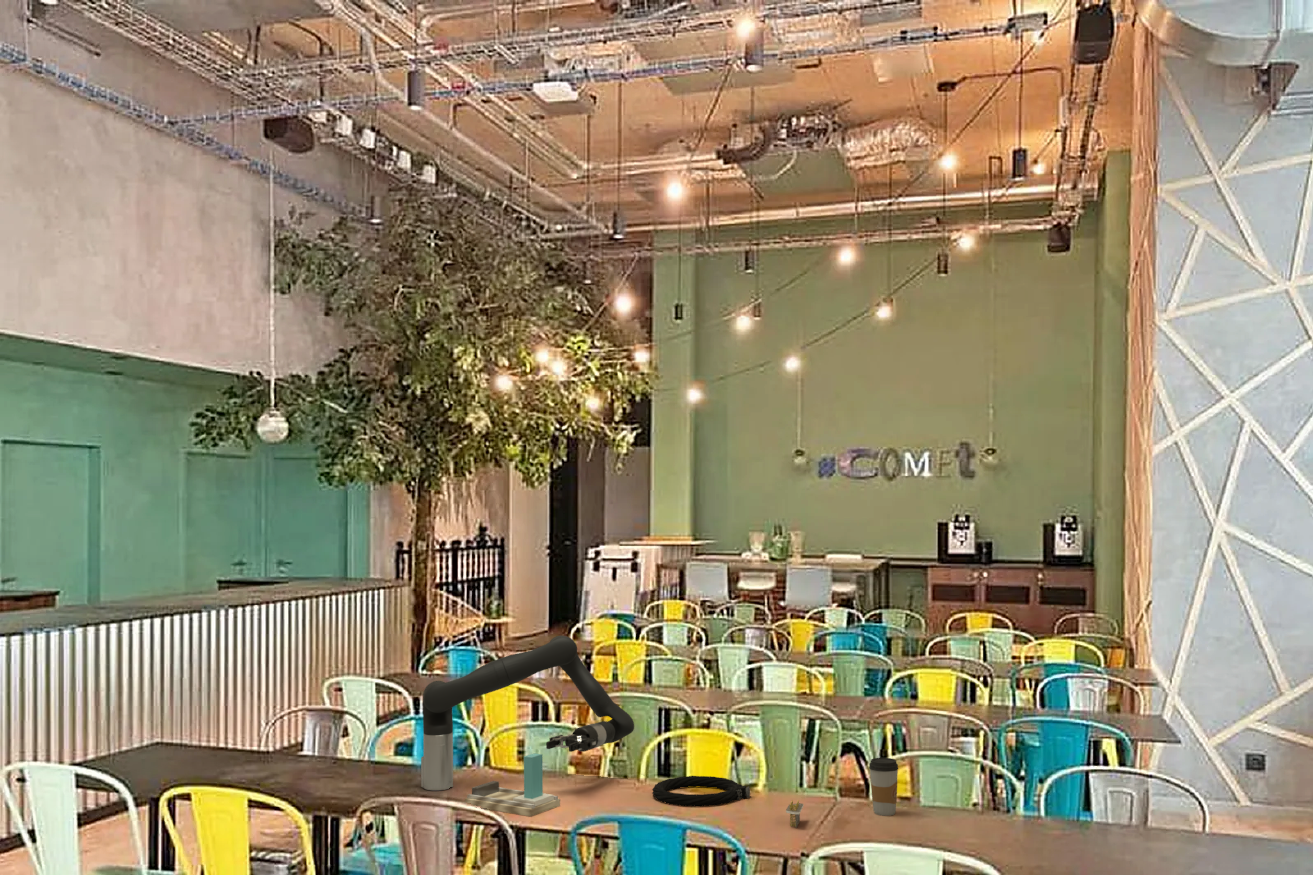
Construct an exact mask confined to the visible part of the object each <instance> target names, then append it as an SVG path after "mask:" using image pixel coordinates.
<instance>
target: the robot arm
mask: <svg viewBox="0 0 1313 875" xmlns="http://www.w3.org/2000/svg"><path fill="white" fill-rule="evenodd" d="M556 667H559V668H560V669H561V670H563V672H564V673H565V674H566V675H567V676H568V678H570V680H571V681H572V683H573V684H574V685H575V687H576V688H577V690H578V691H579V693H580V695H581V696H582V697H583V699H584V700H585V703H587V705H588V706H589V707H590V709H591V710H592V711H593V713H594V714H595V716H596V717H598V718H604V717H608V718H610V720H608V721H606V720H605V721H603V720H602V721H599V722H595V723H589V724H587V725H583V726H580V727H577V728H575V729H574V730H573V732H572V734H567V735H563V734H560V735H559V734H558V735H556V736H551V737H549V740H548V741H546V742H545V743H546V744H545V745H546V750H550V749H554V748H561V749H567V748H568V752H571V753H572V752H575V751H579V752H582V753H584V752H588V751H591V750H593V749H596V748H598V747H600V746H602V745H606V744H613V743H615V742H618V741H620V740H621V739H623V738H625V737H627V736H629V735H630V734H632V733H633V732H634V731H635V722H634V720H633V718H632V716H631V715H630V714H629V713H628V712H626V711H625V710H624V709H623V708H621V706H619V705H618V704H617V703H616V702H614V701H613V700H612V698H611V696H610V695H609V694H608V692H607V691H606V690H605V689H604V687H603V686H602V685H601V683H600V682H599V681H598V680H597V678H596V677H594V676H593V675H592V673H591V672H590V671H589V669H587V667H586V665H585V664H584V663H583V661H582V659H581V657H580V656H579V654H578V645H577V644H576V642H575V641H574V639H572V638H571V637H569V636H566V635H557V636H554V637H553V638H551V640H549V641H548V642H547V643H546V644H544V645H541V646H538V647H536V648H534V649H531V650H528V651H522V652H518V653H517V652H516V653H514V654H510V655H506V656H503V657H501V658H498V659H495V660H492V661H489V662H487V663H485V664H483V665H482V666H480V667H478V668H476V669H474V670H473V671H471V672H469V673H468V674H466V675H464V676H462V677H459V678H456V679H453V680H450V681H446V682H445V681H443V680H435V681H431V682H429V683H428V684H427V685H426V687H425V688H424V689H423V694H422V711H423V712H422V713H423V714H422V719H423V720H422V723H423V724H422V725H423V728H422V730H423V732H422V733H423V756H421V759H420V765H421V769H420V770H421V771H420V772H421V773H420V774H421V775H420V776H421V777H420V779H421V780H420V782H421V784H420V786H421V788H423V789H424V790H428V791H444V790H449V788H450V787H452V788H453V787H454V735H453V734H454V730H453V729H454V724H453V721H454V720H453V708H454V707H456V706H457V705H460V704H462V703H464V702H466V701H468V700H470V699H474V698H477V697H480V696H484V695H488V694H490V693H493V692H495V691H499V690H501V689H504V688H507V687H510V686H512V685H515V684H517V683H519V682H520V681H524V680H525V679H528V678H529V677H531V676H533V675H535V674H538V673H539V672H543V671H546V670H550V669H552V668H556ZM450 789H451V788H450Z"/></svg>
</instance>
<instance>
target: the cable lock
mask: <svg viewBox="0 0 1313 875" xmlns="http://www.w3.org/2000/svg"><path fill="white" fill-rule="evenodd" d="M688 786H705V787H704V788H708V787H717V788H716V789H718V788H720V789H719V790H722V789H723V791H720V792H716V793H704V794H703V793H702V794H701V793H699V794H696V793H695V794H692V793H691V794H688V793H687V794H685V793H678V792H673V791H672V789H673V790H677V788H678V789H681V788H680V787H688ZM688 788H689V787H688ZM651 794H652V796H653V798H654V799H655V800H657V799H658V800H659V802H660V801H662V802H661V803H664V802H666V803H665V804H667V803H669V804H668V805H670V804H673V805H675V806H679V805H681V806H680V807H696V806H700V807H710V806H709V805H714V806H720V805H725V804H724V803H726V804H729V802H730V803H731V802H734V801H740V800H746V799H750V798H751V787H750V785H748V786H747V785H743V784H740V783H738V782H736V781H734V780H733V779H729V778H726V777H717V776H711V775H710V776H707V775H705V776H704V775H688V776H677V777H674V778H673V777H672V778H666V779H664V780H662V781H658V782H657V783H656V784H654V786H653V787H652V792H651ZM658 800H657V801H658ZM673 805H672V806H673Z"/></svg>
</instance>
